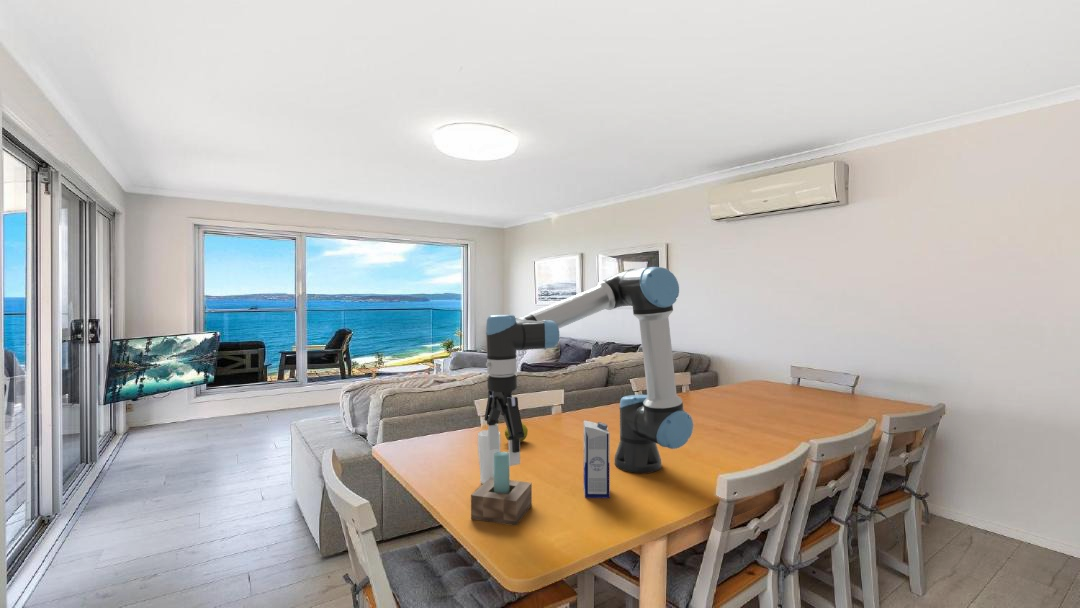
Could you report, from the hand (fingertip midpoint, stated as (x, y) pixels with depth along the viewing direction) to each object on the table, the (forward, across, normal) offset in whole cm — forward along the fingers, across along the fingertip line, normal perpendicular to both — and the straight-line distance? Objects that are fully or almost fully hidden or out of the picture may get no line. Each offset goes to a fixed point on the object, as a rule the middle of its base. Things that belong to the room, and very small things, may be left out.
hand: (503, 456), depth 123 cm
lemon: (+15, -52, +27) cm, 60 cm away
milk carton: (+15, +1, +28) cm, 31 cm away
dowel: (+13, 0, -1) cm, 13 cm away
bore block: (+14, 0, -1) cm, 14 cm away
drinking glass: (+15, -20, +4) cm, 25 cm away
